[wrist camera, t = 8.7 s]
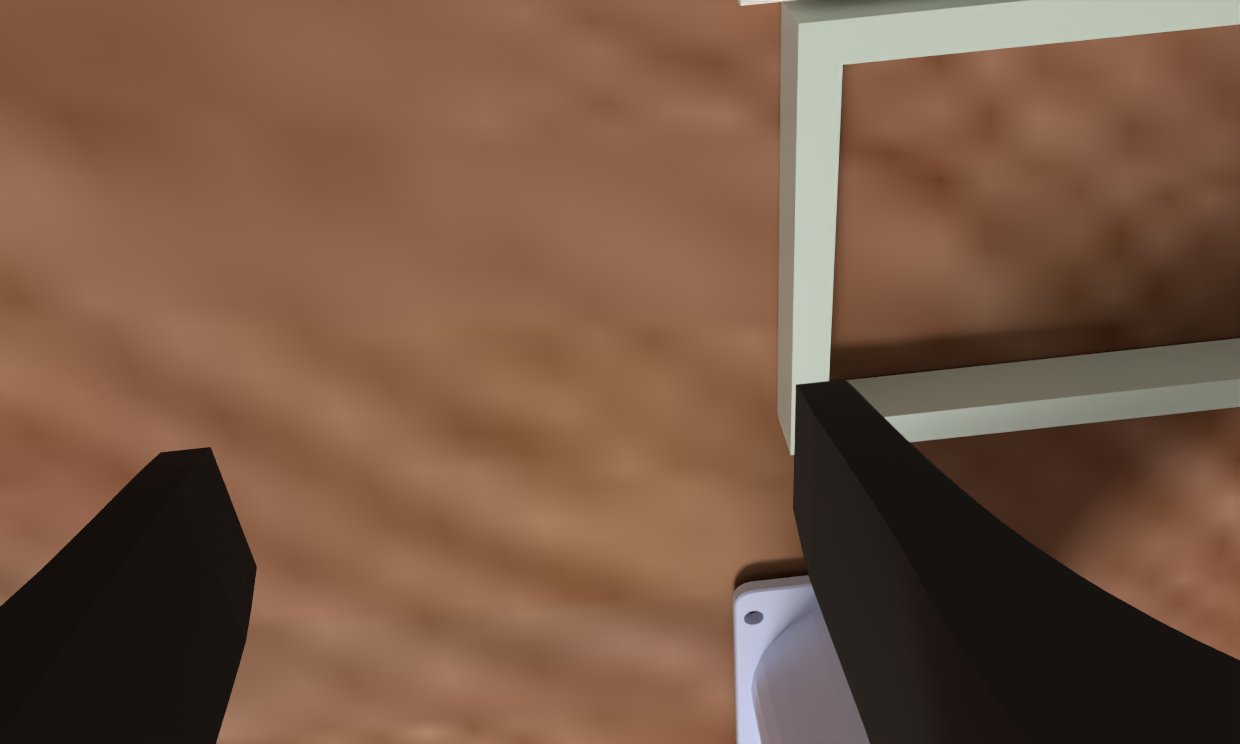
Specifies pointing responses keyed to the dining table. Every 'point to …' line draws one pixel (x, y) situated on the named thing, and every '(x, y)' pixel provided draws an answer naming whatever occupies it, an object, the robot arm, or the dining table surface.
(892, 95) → the dining table surface
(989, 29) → the pale green rectangular frame
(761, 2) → the tray
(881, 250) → the dining table surface
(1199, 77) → the dining table surface
